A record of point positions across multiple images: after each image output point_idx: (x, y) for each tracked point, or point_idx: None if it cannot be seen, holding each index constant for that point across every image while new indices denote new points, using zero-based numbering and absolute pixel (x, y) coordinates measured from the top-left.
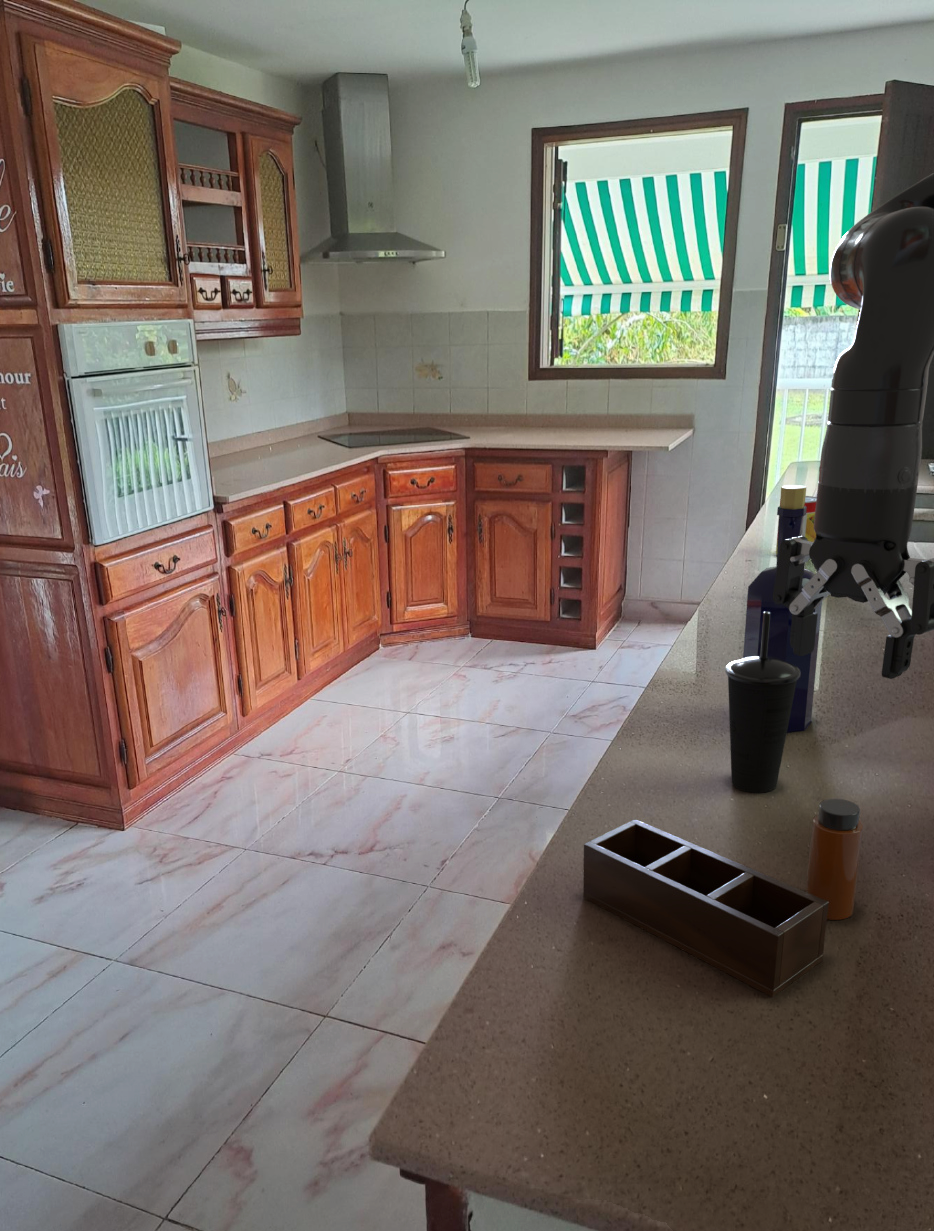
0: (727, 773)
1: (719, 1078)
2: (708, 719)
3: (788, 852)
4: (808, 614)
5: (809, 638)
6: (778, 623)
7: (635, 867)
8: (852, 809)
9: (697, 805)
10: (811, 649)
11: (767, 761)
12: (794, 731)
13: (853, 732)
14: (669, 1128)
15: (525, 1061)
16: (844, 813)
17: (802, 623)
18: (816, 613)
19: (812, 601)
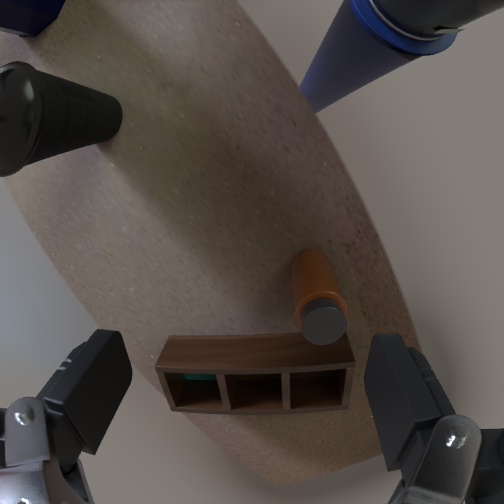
0: None
1: (351, 422)
2: (5, 61)
3: (222, 211)
4: (75, 435)
5: (108, 376)
6: None
7: (220, 413)
8: (338, 322)
9: (104, 204)
10: (117, 341)
11: (102, 126)
12: (63, 3)
13: None
14: (349, 444)
15: (282, 458)
16: (336, 336)
17: (99, 441)
18: (63, 407)
19: (87, 496)
